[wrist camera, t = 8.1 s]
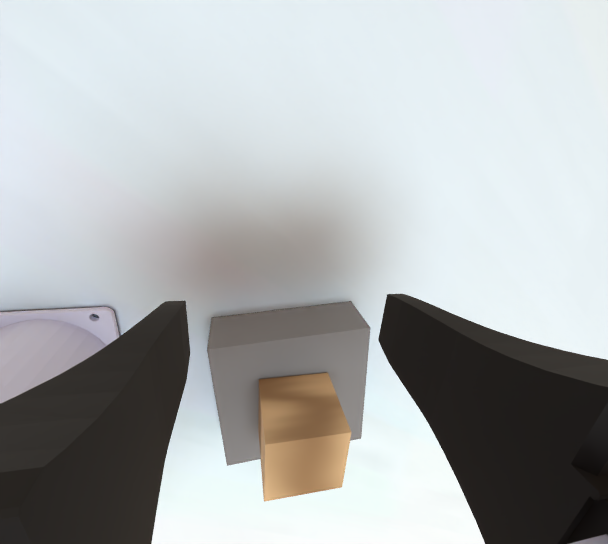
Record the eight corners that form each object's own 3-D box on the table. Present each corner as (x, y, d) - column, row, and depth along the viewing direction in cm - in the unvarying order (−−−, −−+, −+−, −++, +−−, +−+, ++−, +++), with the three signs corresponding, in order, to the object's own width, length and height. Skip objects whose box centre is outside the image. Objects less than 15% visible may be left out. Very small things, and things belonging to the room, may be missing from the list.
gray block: (228, 419, 25) (227, 465, 21) (212, 314, 21) (207, 349, 17) (344, 398, 27) (361, 438, 23) (349, 298, 23) (370, 327, 19)
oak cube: (258, 430, 21) (264, 501, 17) (258, 379, 19) (265, 444, 15) (321, 422, 22) (341, 487, 18) (327, 372, 20) (351, 432, 16)
